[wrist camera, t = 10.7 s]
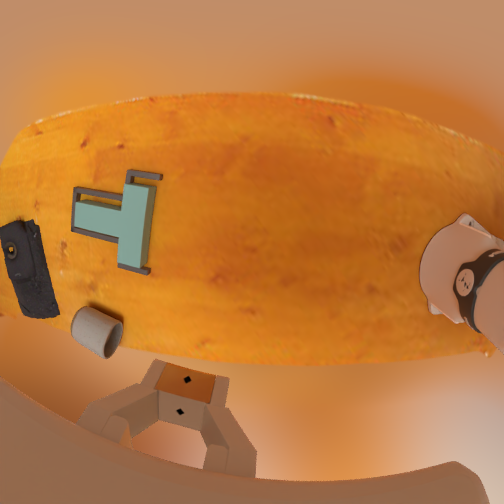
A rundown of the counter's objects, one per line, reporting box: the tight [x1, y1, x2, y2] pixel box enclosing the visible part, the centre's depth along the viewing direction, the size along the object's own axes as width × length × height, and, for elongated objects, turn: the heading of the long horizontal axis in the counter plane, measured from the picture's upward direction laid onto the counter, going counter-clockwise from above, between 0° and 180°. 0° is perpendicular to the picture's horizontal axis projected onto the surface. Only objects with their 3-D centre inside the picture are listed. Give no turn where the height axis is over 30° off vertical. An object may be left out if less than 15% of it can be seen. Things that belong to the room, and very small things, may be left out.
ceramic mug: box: [71, 306, 123, 359], centre depth 43 cm, size 11×8×8 cm
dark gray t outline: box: [71, 170, 163, 275], centre depth 40 cm, size 16×16×1 cm
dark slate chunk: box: [0, 219, 60, 319], centre depth 43 cm, size 15×22×5 cm
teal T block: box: [74, 183, 157, 268], centre depth 39 cm, size 13×12×3 cm
